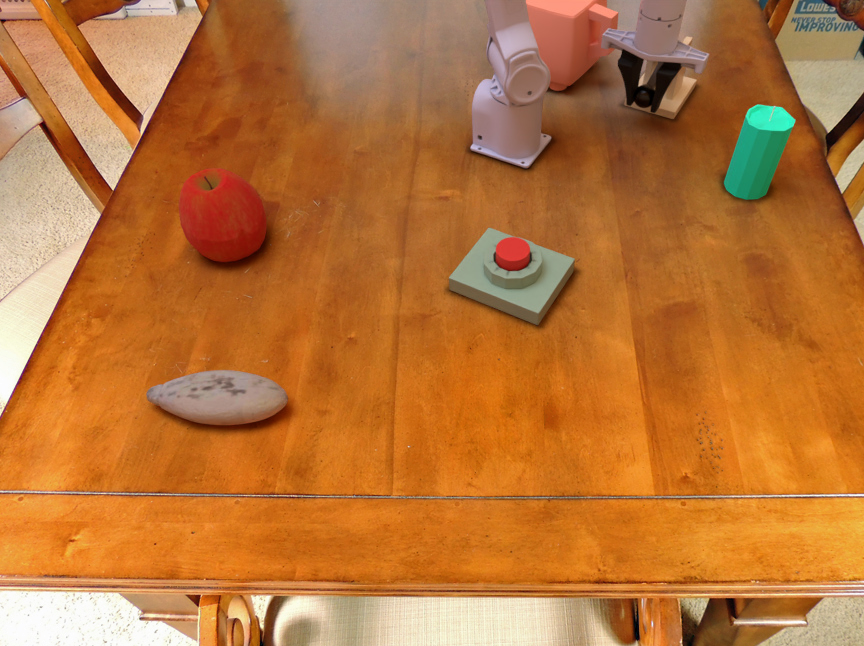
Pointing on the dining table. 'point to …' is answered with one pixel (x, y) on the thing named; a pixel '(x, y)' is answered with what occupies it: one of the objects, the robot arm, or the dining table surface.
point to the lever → (646, 90)
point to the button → (512, 254)
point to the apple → (222, 215)
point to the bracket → (669, 89)
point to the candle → (758, 151)
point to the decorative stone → (220, 397)
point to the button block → (512, 278)
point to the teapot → (570, 36)
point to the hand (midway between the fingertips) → (643, 105)
